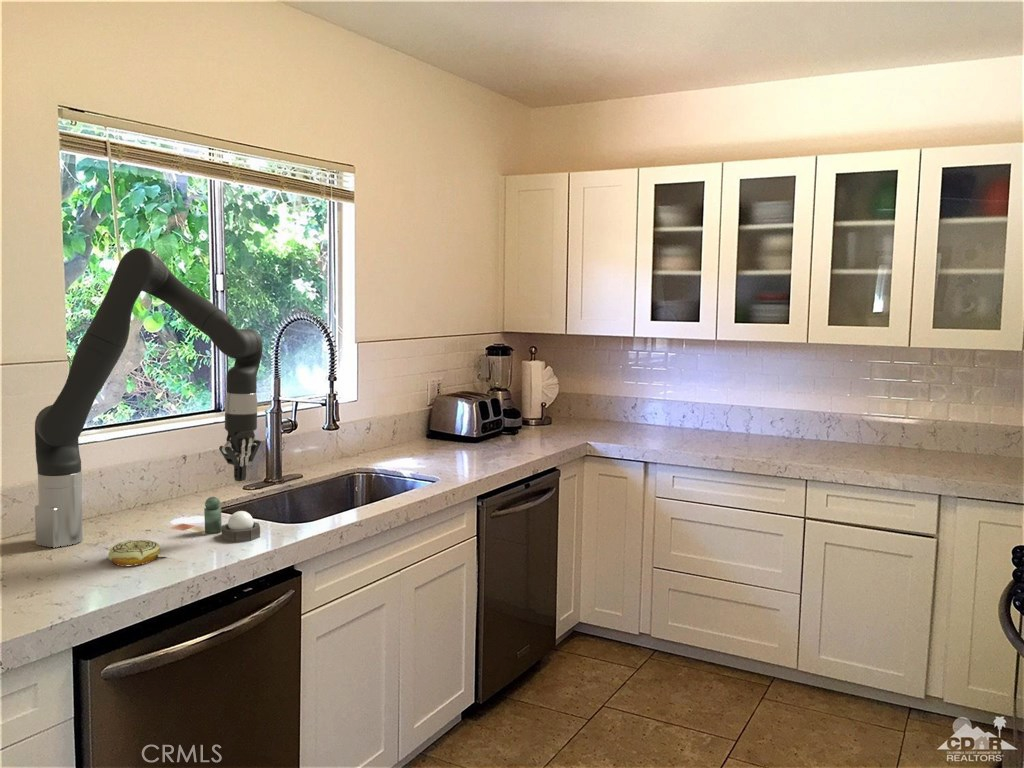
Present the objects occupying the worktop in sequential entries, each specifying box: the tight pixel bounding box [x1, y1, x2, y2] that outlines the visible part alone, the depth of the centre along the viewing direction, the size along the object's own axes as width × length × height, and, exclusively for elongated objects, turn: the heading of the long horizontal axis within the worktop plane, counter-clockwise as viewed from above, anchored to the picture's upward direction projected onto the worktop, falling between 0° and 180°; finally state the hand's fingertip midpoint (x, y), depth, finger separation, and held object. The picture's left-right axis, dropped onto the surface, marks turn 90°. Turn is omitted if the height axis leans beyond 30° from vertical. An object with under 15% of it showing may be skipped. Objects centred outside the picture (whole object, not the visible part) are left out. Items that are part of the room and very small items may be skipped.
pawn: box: [203, 496, 223, 535], centre depth 209 cm, size 4×4×9 cm
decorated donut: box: [107, 539, 161, 566], centre depth 190 cm, size 10×11×4 cm
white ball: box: [227, 510, 254, 531], centre depth 206 cm, size 6×6×6 cm
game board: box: [170, 521, 261, 543], centre depth 209 cm, size 10×25×4 cm, turn 69°
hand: (240, 480), depth 204 cm, fingers closed
